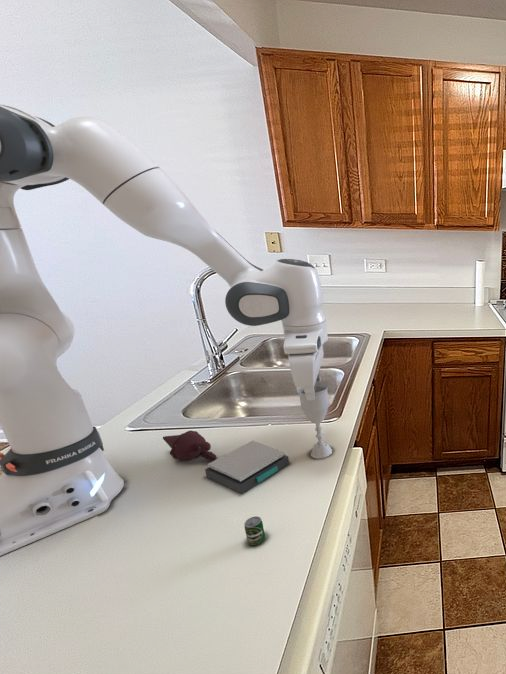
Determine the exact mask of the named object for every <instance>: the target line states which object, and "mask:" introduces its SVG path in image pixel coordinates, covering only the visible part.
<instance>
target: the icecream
mask: <svg viewBox="0 0 506 674" xmlns="http://www.w3.org/2000/svg"><path fill="white" fill-rule="evenodd" d="M162 440H163V441H164V442H165V443H166V444H167V446H169V448H171V449H170V451H169V455H170V456H172V459H176V460H180V461H182V460H184V461H189V460H194V459H198V458H199V457H200V456H201V457H202V458H203V459H205V460H207V461H210V462H213V461H214V460H216V459H217V455H216V454H215V453H213V452H212V451H210V450H211V448H212V446H211V443H210V442H208V441H206V438H205V437H204V436H202V435H201V434H200V433H199V432H198V431H196V430H188V431H186V432H184V433H180V434H175V435H165V436H162Z"/></svg>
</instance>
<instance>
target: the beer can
mask: <svg viewBox="0 0 506 674" xmlns="http://www.w3.org/2000/svg"><path fill="white" fill-rule="evenodd" d="M243 524H244V532H245V537H246V540H247V543H248V545H249V546H258V545H261V544H262V543H263V542H264V541H265V540H266V533H265V528H264V523H263V520H262V518H261V517H260V516H257V515H256V516H255V515H254V516H251V517H249V518H247V519H246V520H245V522H244V523H243Z"/></svg>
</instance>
